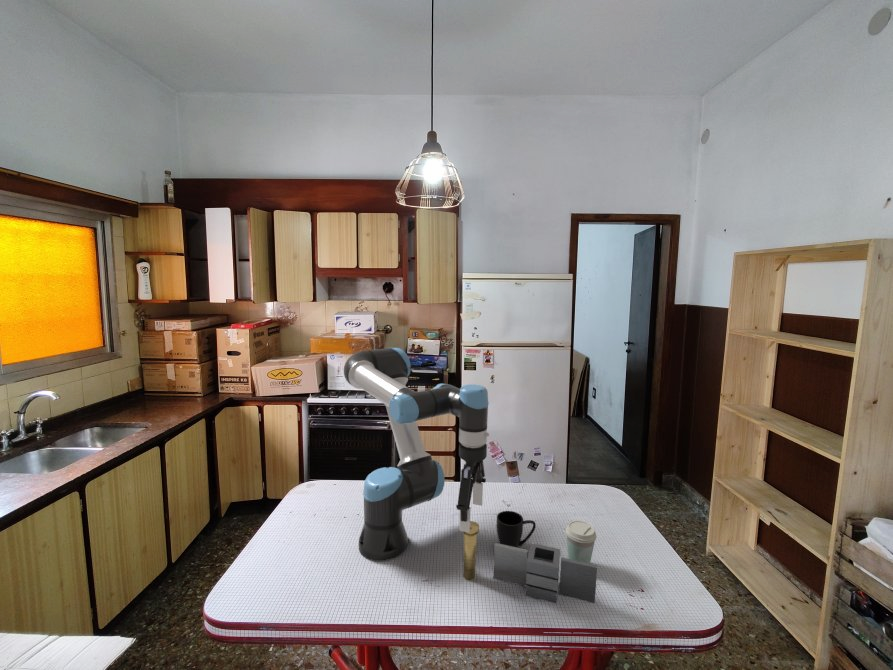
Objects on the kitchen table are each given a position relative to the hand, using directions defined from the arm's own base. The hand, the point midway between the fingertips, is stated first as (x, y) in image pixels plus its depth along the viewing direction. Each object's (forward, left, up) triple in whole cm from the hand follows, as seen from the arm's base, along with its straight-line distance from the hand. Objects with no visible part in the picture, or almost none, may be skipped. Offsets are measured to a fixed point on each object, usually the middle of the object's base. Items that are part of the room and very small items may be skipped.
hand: (471, 516), depth 113 cm
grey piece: (+15, +2, -18) cm, 24 cm away
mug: (+10, +17, -18) cm, 27 cm away
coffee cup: (+29, +15, -18) cm, 38 cm away
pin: (0, 0, -18) cm, 18 cm away
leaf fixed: (+24, +2, -18) cm, 30 cm away
